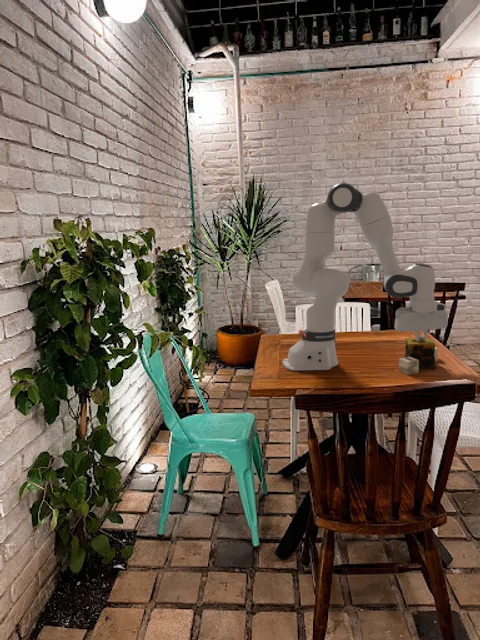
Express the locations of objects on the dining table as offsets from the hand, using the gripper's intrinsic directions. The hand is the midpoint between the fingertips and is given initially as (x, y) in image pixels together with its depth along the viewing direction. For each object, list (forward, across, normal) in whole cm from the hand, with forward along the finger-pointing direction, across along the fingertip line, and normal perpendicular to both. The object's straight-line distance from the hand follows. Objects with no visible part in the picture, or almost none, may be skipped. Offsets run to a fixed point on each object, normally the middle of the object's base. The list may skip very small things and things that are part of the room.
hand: (420, 340), depth 185 cm
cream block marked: (+10, +8, +7) cm, 15 cm away
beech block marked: (+10, -8, -6) cm, 14 cm away
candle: (+10, 0, 0) cm, 10 cm away
